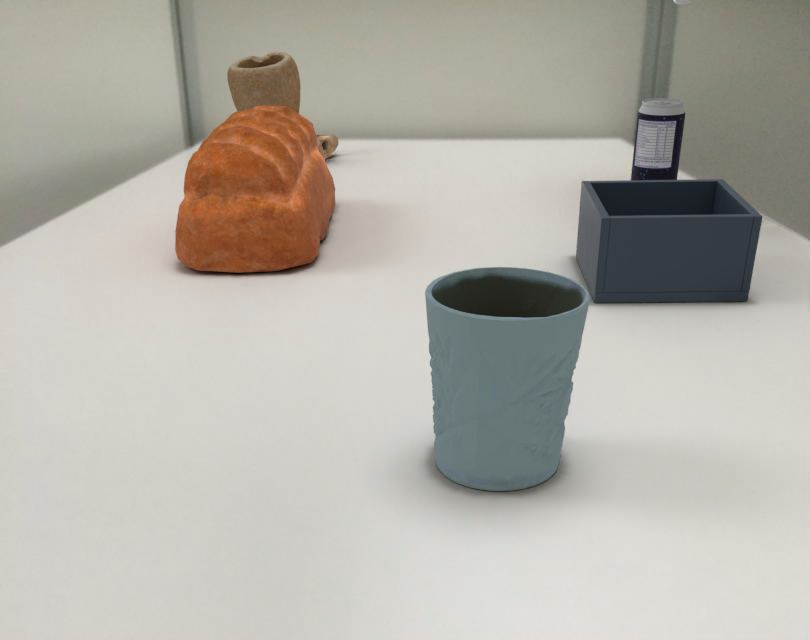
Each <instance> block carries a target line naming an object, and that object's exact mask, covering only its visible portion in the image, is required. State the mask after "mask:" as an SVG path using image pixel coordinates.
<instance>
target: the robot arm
mask: <svg viewBox="0 0 810 640" xmlns="http://www.w3.org/2000/svg"><path fill="white" fill-rule="evenodd" d="M672 1H673V3H674V4H676V5H678V6H683V5H684V6H688V5H690V4H691V3H692V1H693V0H672Z"/></svg>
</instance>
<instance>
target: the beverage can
mask: <svg viewBox="0 0 810 640" xmlns="http://www.w3.org/2000/svg"><path fill="white" fill-rule="evenodd" d="M685 121H686V110H685V108H684V101H683V100H681V99H677V98H669V97H668V98H667V97H655V98H654V97H653V98H647V99H643V100H642V101H641V106H640V107H639V109H638V111H637V117H636V126H635V134H634V135H635V136H634V145H633V146H634V147H633V154H632V162H631V163H632V164H631V173H630V174H631V175H630V180H678V175H679V167H680V160H681V152H682V143H683V136H684V128H685Z"/></svg>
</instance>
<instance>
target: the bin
mask: <svg viewBox="0 0 810 640" xmlns="http://www.w3.org/2000/svg"><path fill="white" fill-rule="evenodd" d="M762 223H763V215H762V214H761V213H760V212H759V211H758V210H756V209H755V208H754V207H753V206H752V205H751V204H750V203H749V202H748V201H747V200H746V199H745V198H743V196H741V194H739V193H738V192H737V190H735V189H734V188H733V187H732V185H730V184H729V183H728V182H727V181H726V180H724V179H723V178H716V179H715V178H714V179H711V178H710V179H709V178H708V179H707V178H705V179H704V178H703V179H701V178H700V179H697V178H696V179H677V180H631V179H630V180H627V179H626V180H582V181H581V186H580V197H579V212H578V224H577V236H576V250H575V251H576V252H575V259H576V261H577V264H578V266H579V268H580V270H581V274H582V276H583V278H584V281H585V283H586V286H587V288H588V292H589V293H590V295H591V296H590V297H591V298H592V300H593V303H595V304H596V303H598V304H604V303H605V304H607V303H614V304H615V303H707V302H711V303H714V302H715V303H716V302H719V303H720V302H721V303H723V302H724V303H725V302H748V300H749V295H750V290H751V284H752V279H753V273H754V269H755V268H754V267H755V261H756V257H757V256H756V255H757V250H758V244H759V239H760V233H761V228H762Z"/></svg>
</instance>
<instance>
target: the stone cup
mask: <svg viewBox="0 0 810 640" xmlns="http://www.w3.org/2000/svg"><path fill="white" fill-rule="evenodd" d="M226 76H227V84H228V89H229V92H230V95H231V99H232V102H233V105H234V107H235V109H236V112H237V111H244V110H248V109H253V108H254V107H255V106H286V107H288V108H290V109H292V110H293V111H295V112H297V113H298V114H300V108H301V107H300V106H301V90H302V89H301V78H300V77H301V76H300V72H299V67H298V65H297V63H296V61H295V59H294V58H293V57H292V56H291V54H289V53H287V52H285V51H271V52H269V53H266V54H265V55H262V56H257V55H249V56H248V55H247V56H245V57H241V58H240V59H238V60H236V61H235V62H233V63H231V64H230V65H229V67H228V68H227V75H226ZM316 135H317V136H316V137H317V142H318V150H319V152H320V153H321V155H322V157H323V158H324V160H325V161H326V160H327V159H328V158H329V157H331V156H332V155H333V153H335V151H336V150H337V148H338V146H339V143H340V142H339V137H338V136H337V135H332V134H331V135H329V134H328V135H327V134H316Z"/></svg>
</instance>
